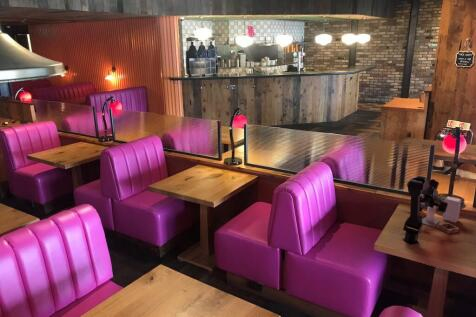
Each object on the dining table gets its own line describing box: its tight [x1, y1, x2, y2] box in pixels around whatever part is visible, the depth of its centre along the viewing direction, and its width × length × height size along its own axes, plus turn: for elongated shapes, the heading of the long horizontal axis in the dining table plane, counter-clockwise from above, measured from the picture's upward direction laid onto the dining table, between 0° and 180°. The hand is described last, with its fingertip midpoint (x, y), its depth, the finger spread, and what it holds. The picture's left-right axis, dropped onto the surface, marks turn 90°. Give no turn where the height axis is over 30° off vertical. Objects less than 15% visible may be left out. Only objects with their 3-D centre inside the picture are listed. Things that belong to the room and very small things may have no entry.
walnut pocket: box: [437, 222, 460, 234], centre depth 245 cm, size 8×8×2 cm
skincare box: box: [442, 196, 462, 224], centre depth 257 cm, size 8×6×15 cm
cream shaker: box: [425, 206, 437, 223], centre depth 254 cm, size 4×4×11 cm
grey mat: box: [422, 216, 440, 228], centre depth 255 cm, size 11×9×1 cm
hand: (431, 209), depth 254 cm, fingers open, 9 cm apart
